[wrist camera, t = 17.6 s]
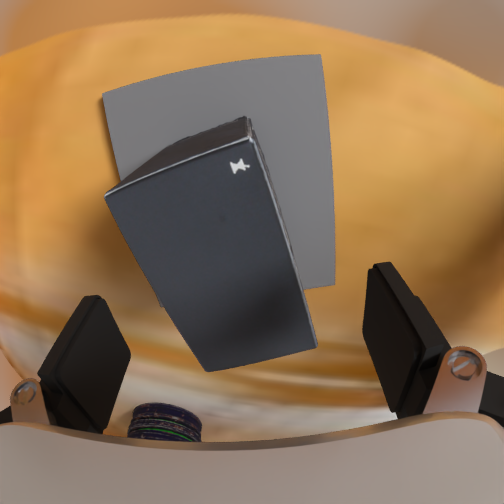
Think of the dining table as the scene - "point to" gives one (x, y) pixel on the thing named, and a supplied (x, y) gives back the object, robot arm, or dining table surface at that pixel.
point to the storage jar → (164, 423)
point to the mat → (266, 129)
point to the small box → (216, 247)
